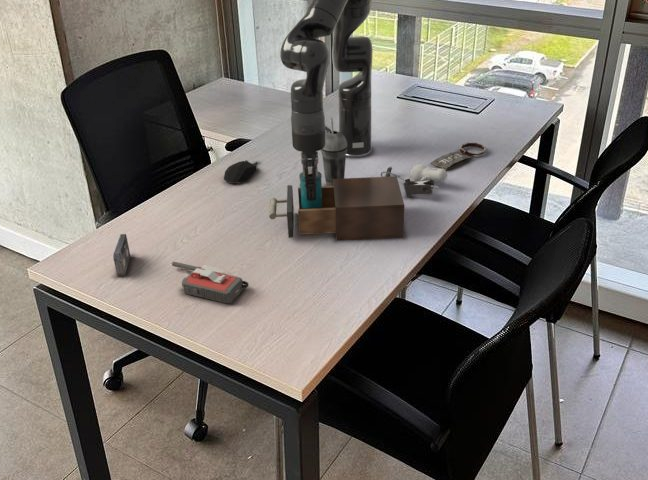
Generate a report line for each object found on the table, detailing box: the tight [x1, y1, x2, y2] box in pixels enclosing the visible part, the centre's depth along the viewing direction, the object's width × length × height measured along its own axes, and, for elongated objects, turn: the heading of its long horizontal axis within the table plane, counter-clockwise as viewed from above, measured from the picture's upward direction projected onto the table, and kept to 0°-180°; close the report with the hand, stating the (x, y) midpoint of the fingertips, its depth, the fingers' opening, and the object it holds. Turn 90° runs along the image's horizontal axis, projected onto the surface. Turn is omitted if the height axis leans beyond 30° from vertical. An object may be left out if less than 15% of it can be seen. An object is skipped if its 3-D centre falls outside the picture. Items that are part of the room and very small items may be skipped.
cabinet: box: [333, 175, 405, 241], centre depth 175 cm, size 16×15×9 cm
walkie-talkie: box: [171, 261, 249, 304], centre depth 155 cm, size 9×4×20 cm
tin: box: [298, 171, 323, 209], centre depth 173 cm, size 5×5×12 cm
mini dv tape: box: [112, 233, 131, 277], centre depth 162 cm, size 8×2×6 cm, turn 4°
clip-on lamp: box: [380, 163, 448, 198], centre depth 192 cm, size 12×6×18 cm
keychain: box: [430, 141, 487, 170], centre depth 207 cm, size 8×19×2 cm, turn 131°
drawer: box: [268, 184, 336, 239], centre depth 175 cm, size 19×14×7 cm
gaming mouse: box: [223, 160, 258, 184], centre depth 202 cm, size 6×15×4 cm, turn 155°
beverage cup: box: [320, 116, 348, 186], centre depth 189 cm, size 7×7×20 cm
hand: (311, 193), depth 173 cm, fingers closed on tin, 5 cm apart
